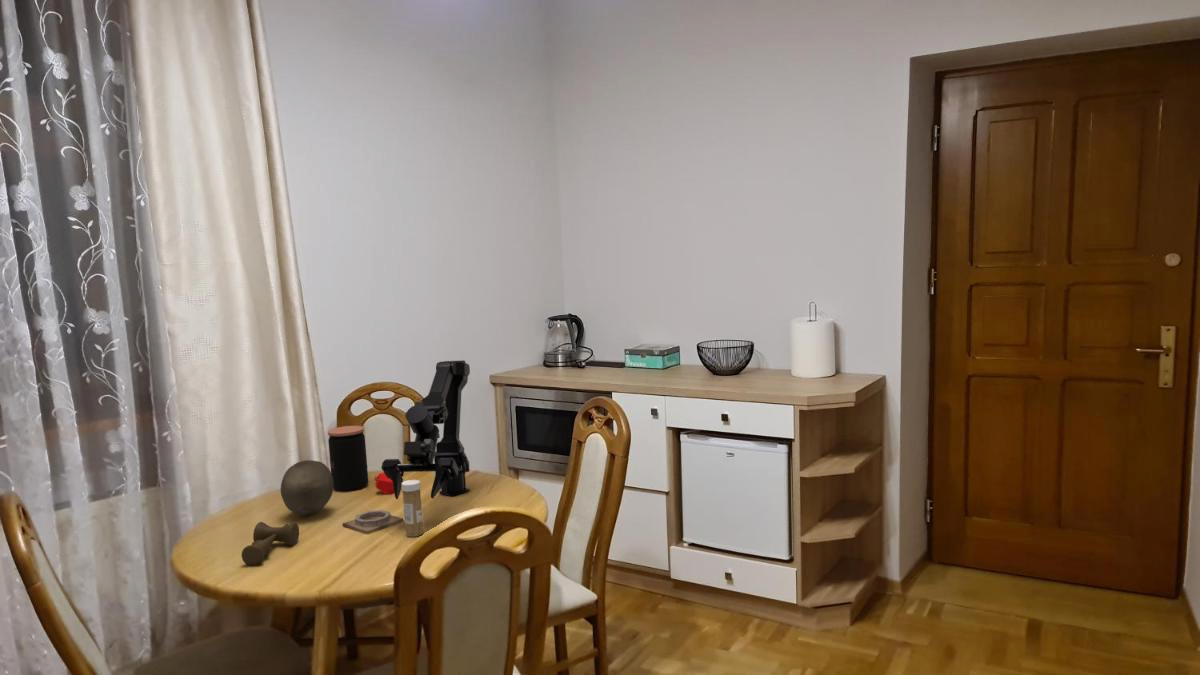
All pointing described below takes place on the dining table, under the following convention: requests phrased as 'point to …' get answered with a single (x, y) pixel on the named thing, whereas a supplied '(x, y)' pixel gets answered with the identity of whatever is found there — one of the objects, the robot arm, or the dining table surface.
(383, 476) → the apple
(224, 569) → the dining table surface
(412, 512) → the sprinkles bottle
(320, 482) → the dark grey ball
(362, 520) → the hub seat
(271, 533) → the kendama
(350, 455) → the coffee jar
